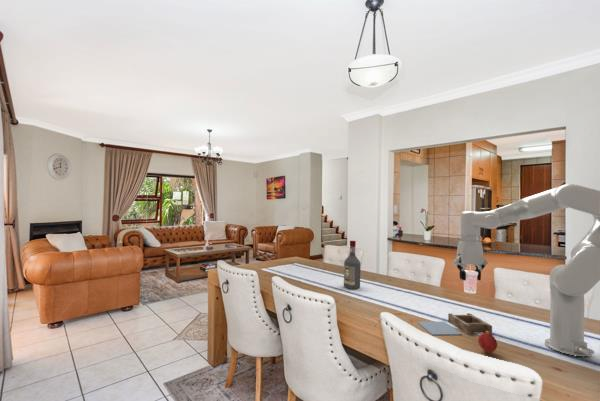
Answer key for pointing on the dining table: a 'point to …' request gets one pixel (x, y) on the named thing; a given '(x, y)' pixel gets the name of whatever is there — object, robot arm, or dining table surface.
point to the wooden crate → (469, 323)
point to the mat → (439, 328)
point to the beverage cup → (470, 281)
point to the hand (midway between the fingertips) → (470, 279)
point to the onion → (487, 342)
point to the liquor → (352, 269)
